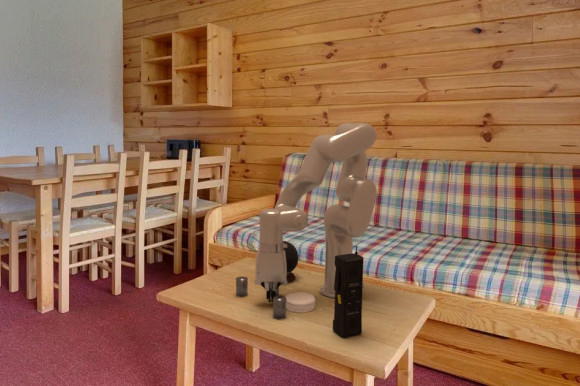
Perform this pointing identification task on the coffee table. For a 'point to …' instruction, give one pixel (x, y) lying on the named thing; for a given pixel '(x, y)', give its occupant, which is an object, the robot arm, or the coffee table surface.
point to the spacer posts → (278, 301)
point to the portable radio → (348, 294)
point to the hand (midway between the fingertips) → (270, 301)
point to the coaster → (300, 302)
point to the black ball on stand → (291, 261)
